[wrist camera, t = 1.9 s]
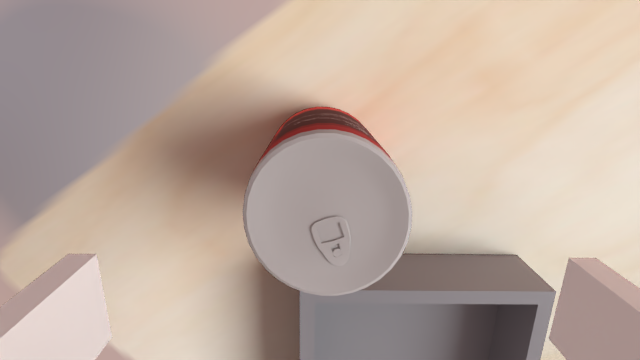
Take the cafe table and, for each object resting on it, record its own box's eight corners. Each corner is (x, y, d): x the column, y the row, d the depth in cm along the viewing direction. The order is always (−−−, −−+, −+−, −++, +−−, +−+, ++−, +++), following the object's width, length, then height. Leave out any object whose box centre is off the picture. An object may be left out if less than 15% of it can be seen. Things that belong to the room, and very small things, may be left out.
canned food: (309, 229, 28) (305, 324, 18) (247, 143, 26) (203, 194, 16) (395, 177, 27) (446, 246, 17) (338, 83, 25) (355, 95, 15)
